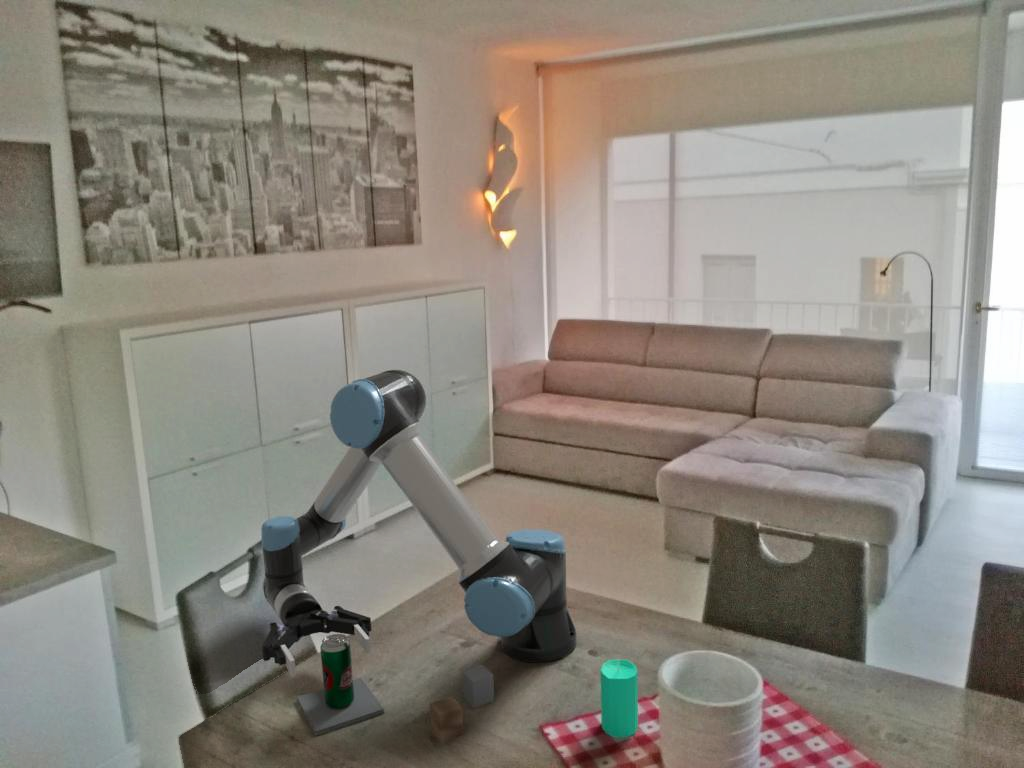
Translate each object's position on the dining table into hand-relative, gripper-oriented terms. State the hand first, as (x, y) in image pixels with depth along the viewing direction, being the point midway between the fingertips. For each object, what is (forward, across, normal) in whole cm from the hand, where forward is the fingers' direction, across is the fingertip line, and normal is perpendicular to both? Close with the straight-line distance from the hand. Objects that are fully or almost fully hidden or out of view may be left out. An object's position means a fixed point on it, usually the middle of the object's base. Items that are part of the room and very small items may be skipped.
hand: (331, 656), depth 144 cm
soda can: (+1, 0, -8) cm, 9 cm away
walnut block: (+18, -13, -9) cm, 24 cm away
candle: (+33, -38, -9) cm, 51 cm away
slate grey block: (+13, -22, -9) cm, 27 cm away
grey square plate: (+1, 0, -9) cm, 9 cm away
